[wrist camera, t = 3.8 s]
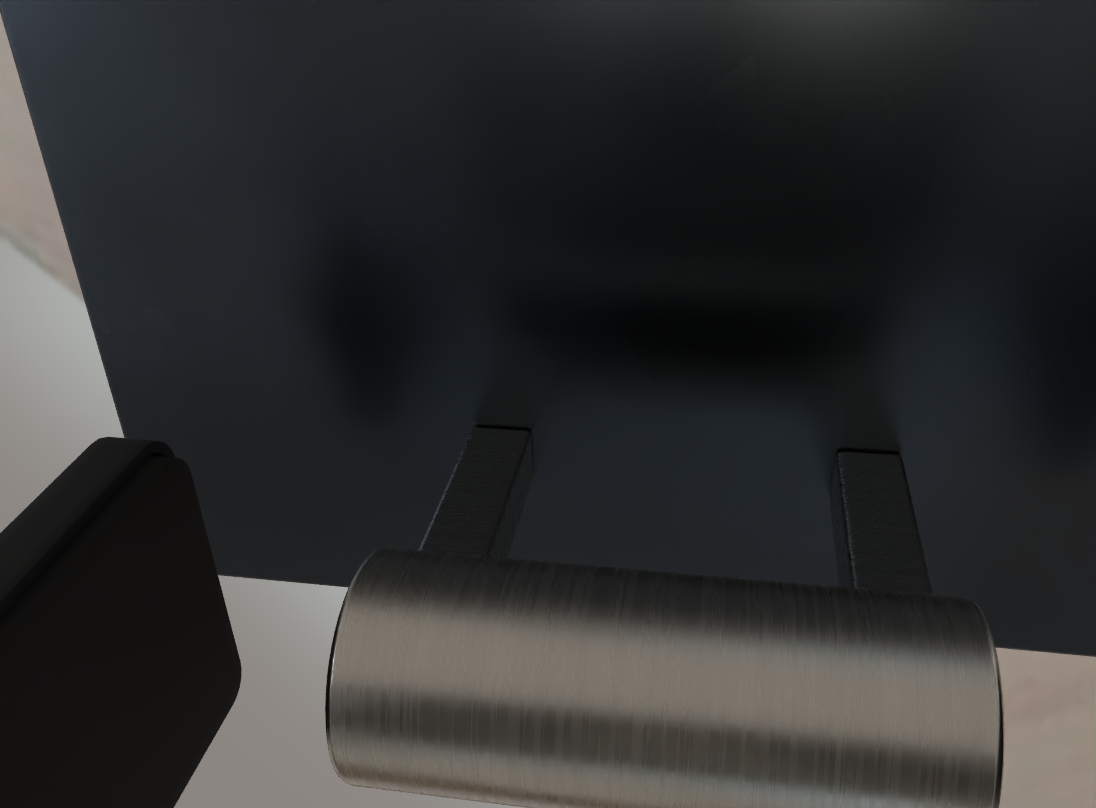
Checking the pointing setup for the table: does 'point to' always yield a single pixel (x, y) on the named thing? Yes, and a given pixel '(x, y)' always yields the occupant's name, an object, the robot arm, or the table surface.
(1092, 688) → the table surface
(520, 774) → the bin lid
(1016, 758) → the table surface
